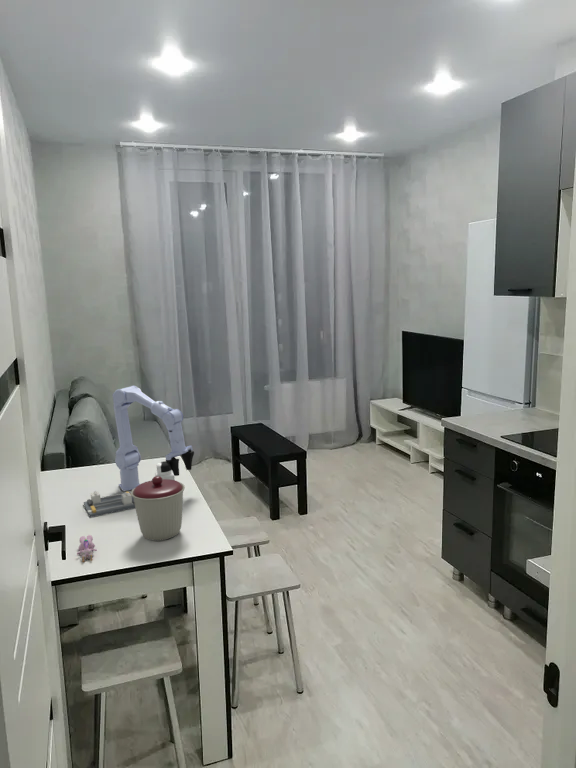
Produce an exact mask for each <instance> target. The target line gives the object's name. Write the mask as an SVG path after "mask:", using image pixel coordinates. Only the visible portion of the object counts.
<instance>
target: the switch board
mask: <svg viewBox="0 0 576 768" xmlns="http://www.w3.org/2000/svg"><path fill="white" fill-rule="evenodd" d="M125 492H126V493H130V495H131V492H130V491H125ZM125 492H122V493H117V494H112V495H107V496H102V497H100V498H101V502H99V503H95V504H93V503H92V501H91V498H88V499H86V501H84V502H83V506H84V508H85V511H86V513H87V515H88V516H89V518H96V517H99V516H104V515H109V514H113V513H117V512H122V511H123V512H124V511H127V510H131V509H132V510H133V509H136V508H135V503H134V498H133V497H132V496H131V497H132V503H130V504H125V505H124V504H123V502H122V496H121V494H125Z"/></svg>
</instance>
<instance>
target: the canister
mask: <svg viewBox="0 0 576 768" xmlns="http://www.w3.org/2000/svg"><path fill="white" fill-rule="evenodd" d="M139 484H140V485H138V486H137V487H135V488H134V489H133V490H130V493H131V496H132V497H133V498H134V503H135V508H134V509H135V511H136V516H137V521H138V526H139V529H140V532H141V535H142V536H143V537H144V538H145V539H147V540H149V541H165V540H168V539H171V538H173V537H175V536H176V537H177V535H178V534H179V532H180V531H181V528H182V522H183V521H182V520H183V505H184V504H183V500H184V499H183V498H184V490H185V488H186V486H185V485H184V483H182V482H179V481H178V480H170V479H162V478H161V477H160V476H155V475H154V476H153V478H152V479H151V480H148V481H144V482H143V483H139Z"/></svg>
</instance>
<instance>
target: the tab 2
mask: <svg viewBox="0 0 576 768" xmlns="http://www.w3.org/2000/svg"><path fill="white" fill-rule="evenodd" d="M126 492H127V491H124V493H125V494H122V493H120V494H121V496H122V502H123V504H124V505H125V504H130V503H132V497H131V495H130V493H131V492H129V493H126Z"/></svg>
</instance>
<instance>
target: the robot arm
mask: <svg viewBox="0 0 576 768" xmlns="http://www.w3.org/2000/svg"><path fill="white" fill-rule="evenodd" d="M112 401H113V411H114V412H113V413H114V418H115V425H116V431H117V437H118V442H119V443H118V444H119V447H118V448H117V450H116V451H115V459H114V460H115V466H116V467H117V468H118V469H119V477H120V483H118V486H119V487H120V489H121V490H122V491H123V492H129V491H132V490H133V489H134V488H135V487H137V486H138V485H140V484H141V483H140V479H139V466H140V465H139V464H140V462H141V461H142V456H141V454H140V451H139V449H138V448H139V447H138V446H136V445H134V443H133V435H132V430H131V423H130V416H129V411H128V408H129V407H130V406H131V405H132V404H133V403H134V402H137V403H138V404H140V405H142V406H144V407H146V408H148V409H150V413H151V414H153V415H154V416H156V417H158V418H159V419H160V420H162V423H163V424H164V426H165V428H166V430H167V433H168V438H169V443H170V449H171V451H170V452H169V453H168V454H165V461H166V463H167V464H168V465H169V466H170V468H171V469H172V472H173V474H174V477H178V476H180V467H179V466H180V465H179V464H180V462H179V461H180V458H176V457H178V456H181V457H182V459H183V462H184V466H185V469H186V471H191V470H192V464H193V458H194V455H195V451H193V450H194V449H193V445H188V446H186V442H185V435H184V431H183V424H182V422H183V420H184V414H183V412H182V411H181V410H180V409H179V408H172V407H171V406H168V405H167V404H165V403H164V401H163V400H157V401H155V400H154V399H152V398H151V397H149V396H148V395H147V394H145V393H144V392H142V390H141V388H139V387H138V386H136V385H130V386H127V387H123V388H118V389H115V391H114V392H113V393H112Z"/></svg>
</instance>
